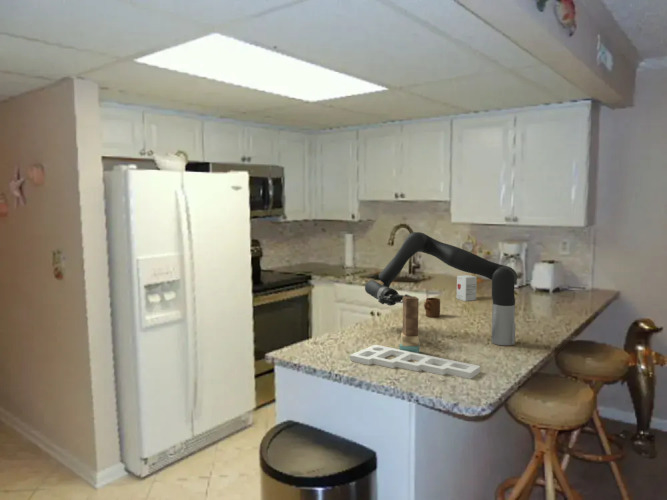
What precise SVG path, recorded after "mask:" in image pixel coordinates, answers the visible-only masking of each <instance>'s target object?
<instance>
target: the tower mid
mask: <svg viewBox="0 0 667 500" xmlns="http://www.w3.org/2000/svg"><path fill="white" fill-rule="evenodd" d="M400 334H401V335H400V342H401V343H402V346H419V347H420V345H419V342H420V335H418V336H405V335H404V334H403V331H401V332H400ZM401 343H400V344H401Z"/></svg>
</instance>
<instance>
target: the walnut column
mask: <svg viewBox="0 0 667 500" xmlns="http://www.w3.org/2000/svg"><path fill="white" fill-rule="evenodd" d="M411 296H412V295H411ZM419 300H420V299H419V298H418V297H417V296H412V297H403V303H402V332H403V334H404V335H405V336H419V302H420V301H419Z"/></svg>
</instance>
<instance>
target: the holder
mask: <svg viewBox="0 0 667 500" xmlns="http://www.w3.org/2000/svg"><path fill="white" fill-rule="evenodd" d="M390 356H394V358H392V359H388V358H387V357H390ZM349 357H350V358H349V361H350V362H355V363H357V364H358V363H359V364H363V365H367V366H370V365H377V366H381V367H384V368H385V367H386V368H390V369H394V368H399V369H403V368H404V370H408V369H409V370H408V371H412V370H414V371H413V372H416V371H418V372H421V371H422V370H423V371H422V372H426V371H427V372H426V373H432V374H436V375H439V376H440V375H441V376H445V375H450V376H455V377H459V378H464V379H469V380H471V379H473V378H474V377H476V376H477V375H478V374H479V373H480V372H481V366H480V365H477V364H471V363H467V362H462V361H457V360H452V359H447V358H442V357H439V356H433V355H428V354H424V353H420V352H419V353H414V352H409V351H404V350H399V348H394V347H388V346H384V345H379V344H373V345H371V346H369V347H366V348H363V349H361V350H359V351H356V352H354V353H351V354H349ZM410 360H413V361H416V360H417V361H416V362H412V361H410Z"/></svg>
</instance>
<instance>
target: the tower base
mask: <svg viewBox="0 0 667 500" xmlns="http://www.w3.org/2000/svg"><path fill="white" fill-rule="evenodd" d="M398 346H399V348H398V349H399V350H404V351H409V352H414V353H419V354H420V341H419V346H402V343H400V344H399V345H398Z"/></svg>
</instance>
